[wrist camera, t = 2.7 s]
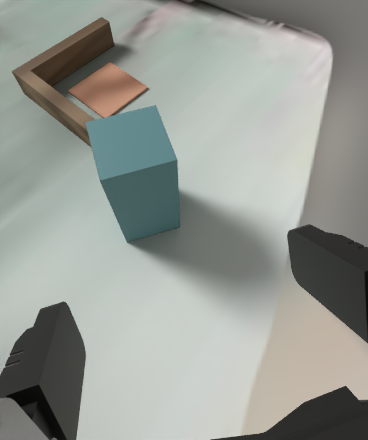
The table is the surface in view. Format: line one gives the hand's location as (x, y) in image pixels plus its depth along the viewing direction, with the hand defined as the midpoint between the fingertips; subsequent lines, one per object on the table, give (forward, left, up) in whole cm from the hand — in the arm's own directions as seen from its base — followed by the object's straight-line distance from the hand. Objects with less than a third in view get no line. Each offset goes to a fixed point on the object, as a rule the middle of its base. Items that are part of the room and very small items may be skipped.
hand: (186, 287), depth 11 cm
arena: (-19, +22, -15) cm, 33 cm away
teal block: (-8, +9, -15) cm, 19 cm away
